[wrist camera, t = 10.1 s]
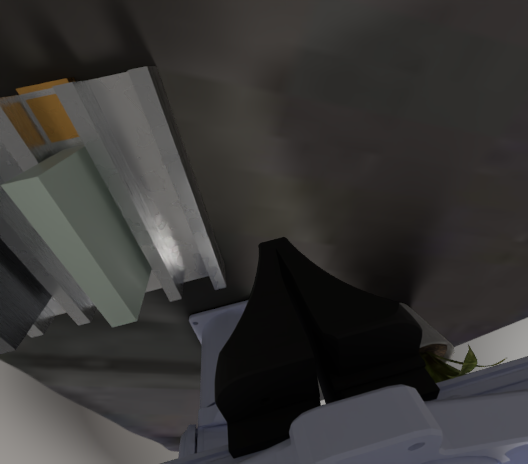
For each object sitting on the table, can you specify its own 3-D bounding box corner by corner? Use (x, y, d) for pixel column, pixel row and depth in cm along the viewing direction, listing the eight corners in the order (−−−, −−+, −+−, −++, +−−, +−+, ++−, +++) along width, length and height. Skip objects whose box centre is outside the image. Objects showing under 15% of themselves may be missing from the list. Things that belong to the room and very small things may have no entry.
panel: (153, 263, 22) (136, 320, 17) (134, 268, 22) (112, 327, 17) (89, 143, 17) (37, 176, 12) (63, 149, 17) (0, 184, 12)
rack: (224, 264, 25) (229, 326, 19) (49, 309, 24) (-2, 387, 18) (154, 60, 16) (122, 56, 10) (-128, 120, 15) (-341, 154, 9)
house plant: (459, 251, 29) (676, 410, 16) (448, 324, 37) (588, 475, 23) (338, 294, 30) (447, 487, 16) (351, 358, 37) (434, 527, 24)
